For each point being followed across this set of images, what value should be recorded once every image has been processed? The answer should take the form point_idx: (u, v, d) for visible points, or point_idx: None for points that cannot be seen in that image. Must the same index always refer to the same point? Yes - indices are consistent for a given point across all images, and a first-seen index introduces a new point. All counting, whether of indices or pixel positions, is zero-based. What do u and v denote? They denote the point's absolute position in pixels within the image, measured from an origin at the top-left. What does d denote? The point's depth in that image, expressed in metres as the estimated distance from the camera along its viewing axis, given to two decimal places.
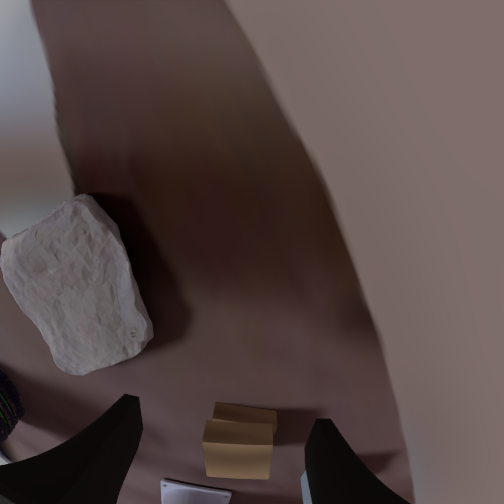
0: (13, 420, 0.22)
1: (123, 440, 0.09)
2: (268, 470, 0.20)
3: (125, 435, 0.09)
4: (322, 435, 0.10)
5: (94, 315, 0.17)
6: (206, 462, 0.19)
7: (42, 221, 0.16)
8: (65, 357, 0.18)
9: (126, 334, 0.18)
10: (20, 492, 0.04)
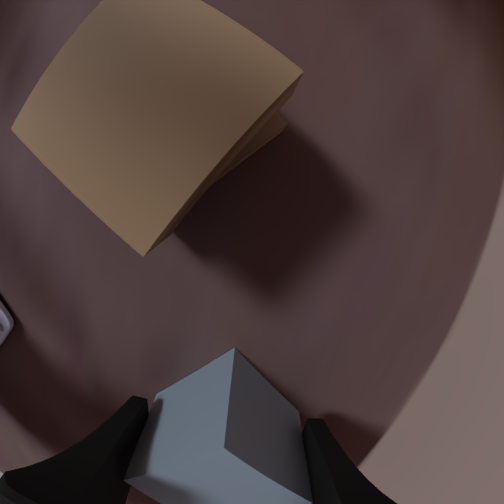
0: None
1: (132, 442, 0.09)
2: (180, 201, 0.06)
3: (134, 437, 0.09)
4: (313, 435, 0.10)
5: None
6: (60, 55, 0.05)
7: None
8: None
9: None
10: (31, 498, 0.04)
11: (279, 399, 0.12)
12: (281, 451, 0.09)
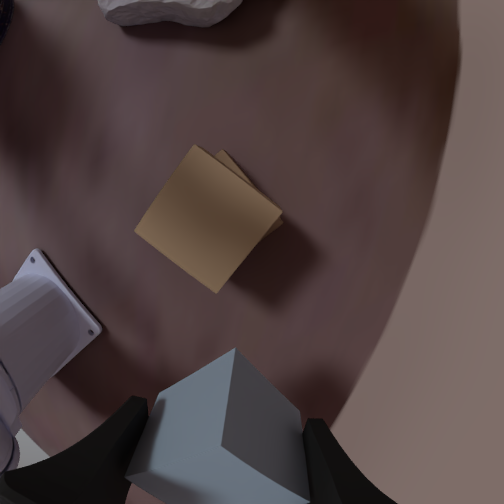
0: None
1: (131, 442, 0.09)
2: (232, 270, 0.15)
3: (133, 437, 0.09)
4: (313, 435, 0.10)
5: None
6: (160, 194, 0.14)
7: None
8: None
9: None
10: (30, 498, 0.04)
11: (280, 399, 0.12)
12: (280, 451, 0.09)
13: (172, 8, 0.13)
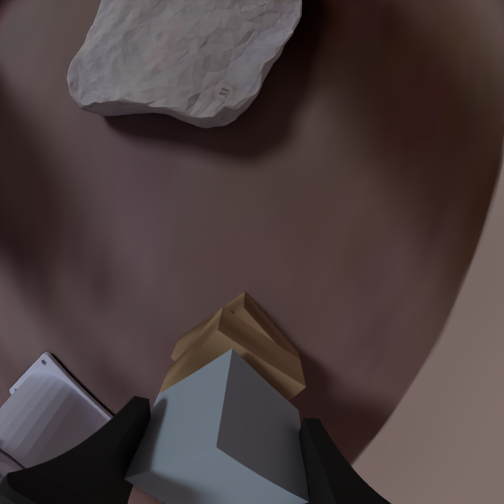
0: None
1: (134, 443, 0.09)
2: None
3: (136, 438, 0.09)
4: (309, 435, 0.10)
5: (203, 35, 0.10)
6: (183, 370, 0.13)
7: None
8: (94, 62, 0.10)
9: (216, 84, 0.11)
10: (33, 500, 0.04)
11: (278, 398, 0.12)
12: (278, 451, 0.09)
13: (163, 110, 0.12)
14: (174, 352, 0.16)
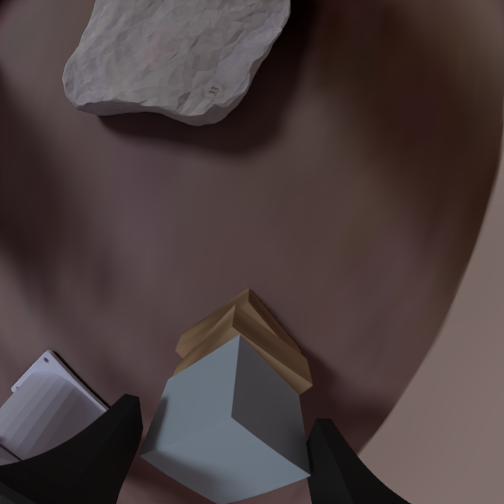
0: None
1: (123, 440, 0.09)
2: None
3: (125, 435, 0.09)
4: (322, 435, 0.10)
5: (193, 36, 0.11)
6: None
7: None
8: (88, 63, 0.11)
9: (205, 83, 0.12)
10: (20, 492, 0.04)
11: (280, 382, 0.13)
12: (282, 427, 0.10)
13: (155, 109, 0.12)
14: (178, 345, 0.16)
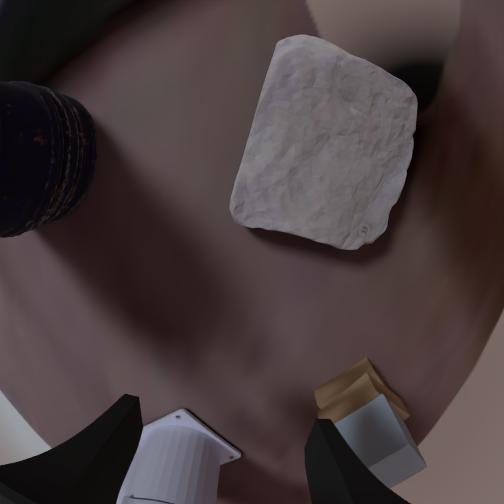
0: (50, 218, 0.16)
1: (123, 440, 0.09)
2: None
3: (125, 435, 0.09)
4: (322, 435, 0.10)
5: (355, 184, 0.16)
6: (346, 416, 0.19)
7: (385, 72, 0.14)
8: (261, 192, 0.16)
9: (359, 224, 0.17)
10: (20, 493, 0.04)
11: (399, 416, 0.18)
12: (413, 443, 0.15)
13: None
14: (318, 401, 0.21)
